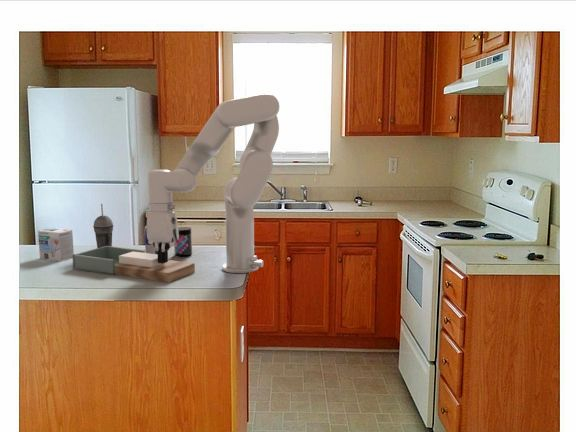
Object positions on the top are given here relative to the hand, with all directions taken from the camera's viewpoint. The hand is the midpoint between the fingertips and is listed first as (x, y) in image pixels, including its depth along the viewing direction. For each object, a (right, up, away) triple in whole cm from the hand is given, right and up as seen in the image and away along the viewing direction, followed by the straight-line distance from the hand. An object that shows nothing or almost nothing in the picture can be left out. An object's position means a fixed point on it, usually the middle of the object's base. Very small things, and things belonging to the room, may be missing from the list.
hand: (162, 262), depth 175 cm
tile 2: (-5, -1, +2) cm, 5 cm away
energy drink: (-9, -1, +24) cm, 25 cm away
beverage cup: (-28, 0, +26) cm, 38 cm away
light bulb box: (-45, -1, +23) cm, 51 cm away
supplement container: (+1, 0, +28) cm, 28 cm away
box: (-21, -2, +11) cm, 24 cm away
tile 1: (-11, 0, +5) cm, 12 cm away
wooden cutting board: (-3, -4, +2) cm, 5 cm away
